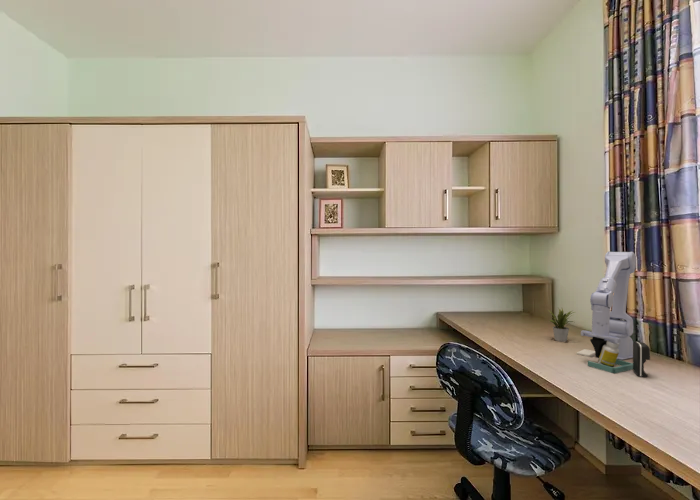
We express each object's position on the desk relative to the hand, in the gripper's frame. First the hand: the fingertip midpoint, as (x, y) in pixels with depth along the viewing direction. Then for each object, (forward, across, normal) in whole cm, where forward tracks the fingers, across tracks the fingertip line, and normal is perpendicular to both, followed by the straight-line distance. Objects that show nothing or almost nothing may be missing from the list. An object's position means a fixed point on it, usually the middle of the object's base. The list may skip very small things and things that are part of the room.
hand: (599, 357), depth 152 cm
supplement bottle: (+2, +2, +1) cm, 3 cm away
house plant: (+2, -32, +22) cm, 39 cm away
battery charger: (+3, +14, +3) cm, 14 cm away
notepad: (+2, -12, +11) cm, 17 cm away
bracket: (+3, +4, +1) cm, 5 cm away
